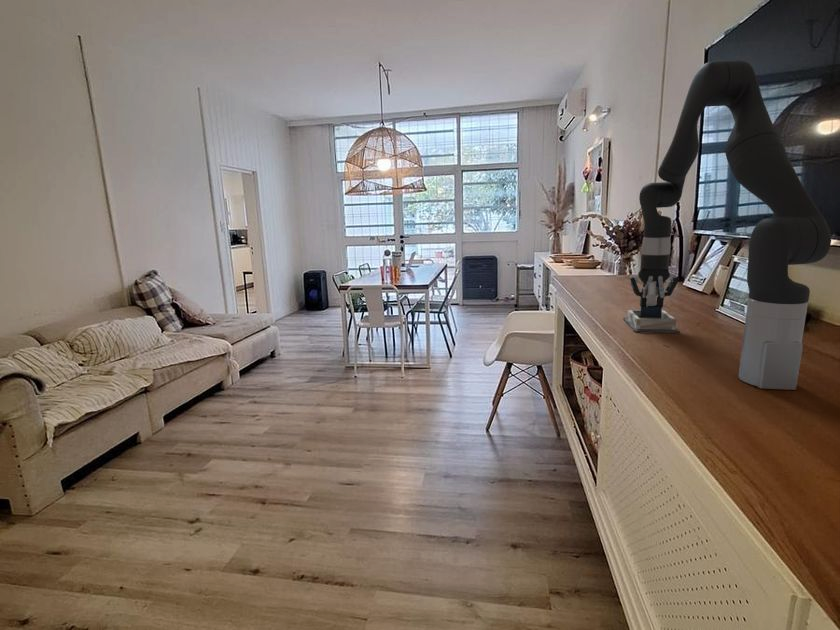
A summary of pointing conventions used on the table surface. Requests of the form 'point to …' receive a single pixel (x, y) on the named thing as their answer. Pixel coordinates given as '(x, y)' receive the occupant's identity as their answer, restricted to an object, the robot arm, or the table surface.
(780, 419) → the table surface
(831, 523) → the table surface
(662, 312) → the holder
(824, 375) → the table surface
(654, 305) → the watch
